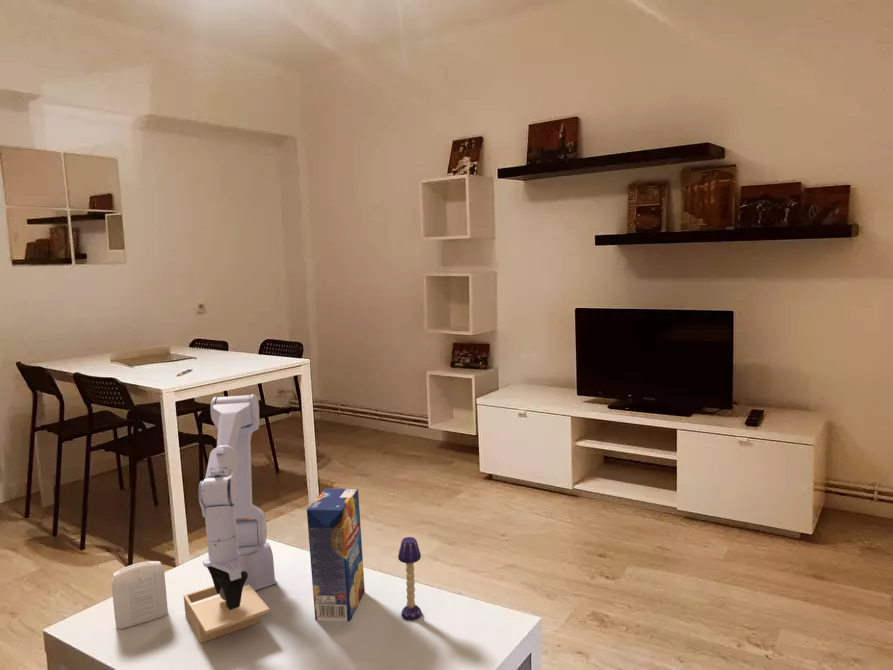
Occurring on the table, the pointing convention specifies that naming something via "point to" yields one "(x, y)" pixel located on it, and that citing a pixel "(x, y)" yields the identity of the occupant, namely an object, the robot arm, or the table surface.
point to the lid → (227, 610)
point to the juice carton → (336, 554)
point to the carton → (196, 625)
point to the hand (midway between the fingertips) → (228, 599)
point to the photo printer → (139, 593)
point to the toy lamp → (410, 576)
